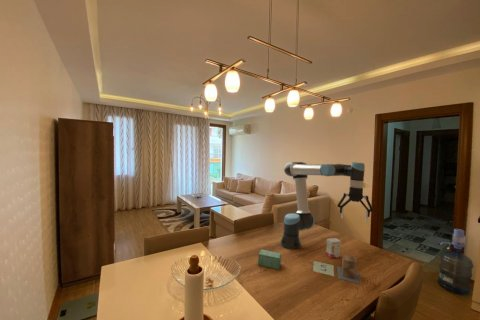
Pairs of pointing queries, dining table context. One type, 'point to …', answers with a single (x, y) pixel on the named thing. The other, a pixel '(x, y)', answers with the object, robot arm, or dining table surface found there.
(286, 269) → the dining table surface
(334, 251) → the ink box
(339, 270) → the mat
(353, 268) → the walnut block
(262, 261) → the box
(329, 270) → the tile
